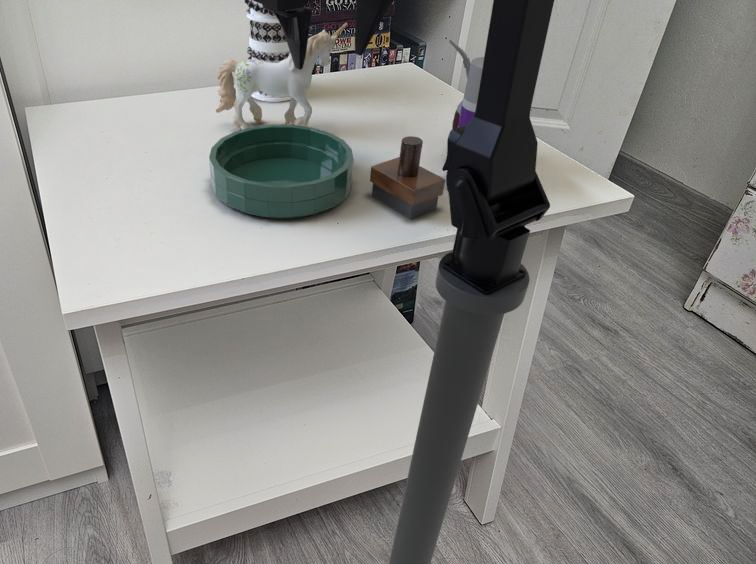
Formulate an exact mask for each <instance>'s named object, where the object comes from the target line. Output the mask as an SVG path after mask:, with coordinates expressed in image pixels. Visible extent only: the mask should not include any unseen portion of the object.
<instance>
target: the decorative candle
mask: <svg viewBox="0 0 756 564" xmlns="http://www.w3.org/2000/svg"><path fill="white" fill-rule="evenodd" d="M244 4H246V5H247V9H246V10H245V11H246V12H245V13H246V18H248V19H249V35H248V36H249V39H248V40H249V41H248V43H249V46H248V47H247V54H248V55H249V57H247V60H249V59H256V60H260V61H264V62H270V63H279V62H280V61H282V60H284V59H287V58H288V56H289V54H290V50H289V47H288V44H287V41H286V38H285V35H284V32H283V30H282V27H281V25H280V23H279V21H278V19H277V17H276V16H275V14H274V13H273V12H272V11H270V10H267V9H265V8H263V6H262V4H260V3H258V2H255V1H253V0H244ZM251 96H252V98H253V99H255V100H258V101H263V102H268V103H269V102H272V103H273V102H274V103H275V102H276V103H279V102H286V101H290V100H291V96H290V95H289V96H283V97H277V96H271V95H268V94H266V93H264V92H262V91H255V92H254V93H253V94H252V95H251Z"/></svg>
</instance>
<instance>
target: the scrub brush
mask: <svg viewBox="0 0 756 564" xmlns="http://www.w3.org/2000/svg"><path fill="white" fill-rule="evenodd" d="M423 142H424V141H423V139H422V138H420V137H418V136H413V135H411V136H410V135H409V136H404V137H402V138H401V142H400V143H401V144H400V151H399V156H398V157H394V158H392V159H389V160H386V161H383V162H379V163H377V164H373V165H371V166H370V173H369V182H370V183H372V187H371V188H372V189H371V191H372V192H371V197H373V199H375V200H376V201H379V202H380V203H382V204H383V205H385V206H386V207H388V208H390V209H392V210H393V211H395V212H397V213H398V214H400V215H402V216H403V217H405V218H406V219H408V220H413V219H415V218H418V217H420V216H424V215H425V214H428V213H431V212H433V211H436V210H437V207H438V202H439V197H440V196H441V197H442V196H443V194H444V190H445V185H446V178H443V177H441V176H440V175H438V174H436V173H434V172H432V171H430V170H428V169H426V168H425V167H423V166H421V165H420V164H421V163H420V162H421V155H422V149H423V144H424V143H423Z"/></svg>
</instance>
